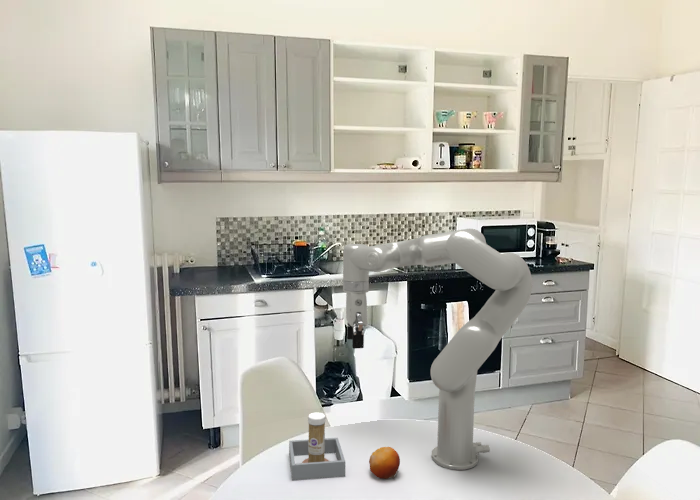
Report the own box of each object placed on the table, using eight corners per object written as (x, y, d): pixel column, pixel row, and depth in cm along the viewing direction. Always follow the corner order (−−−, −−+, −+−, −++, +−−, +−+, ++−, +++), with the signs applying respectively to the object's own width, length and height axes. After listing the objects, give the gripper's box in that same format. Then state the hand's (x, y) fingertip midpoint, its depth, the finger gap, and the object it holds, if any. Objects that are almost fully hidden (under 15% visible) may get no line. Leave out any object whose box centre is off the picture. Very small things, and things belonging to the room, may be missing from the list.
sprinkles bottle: (307, 467, 137) (307, 418, 136) (309, 459, 142) (309, 411, 140) (324, 468, 137) (324, 418, 136) (325, 459, 142) (326, 411, 140)
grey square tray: (337, 451, 147) (337, 437, 147) (345, 476, 134) (345, 461, 133) (289, 454, 145) (289, 440, 144) (291, 480, 132) (291, 465, 131)
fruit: (405, 479, 130) (389, 451, 130) (378, 491, 132) (362, 464, 132) (408, 463, 138) (393, 437, 138) (382, 475, 140) (367, 449, 140)
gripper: (374, 291, 145) (373, 351, 147) (362, 281, 162) (362, 335, 164) (347, 291, 144) (347, 352, 145) (338, 281, 161) (338, 336, 162)
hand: (355, 343), depth 154 cm, fingers open, 9 cm apart
